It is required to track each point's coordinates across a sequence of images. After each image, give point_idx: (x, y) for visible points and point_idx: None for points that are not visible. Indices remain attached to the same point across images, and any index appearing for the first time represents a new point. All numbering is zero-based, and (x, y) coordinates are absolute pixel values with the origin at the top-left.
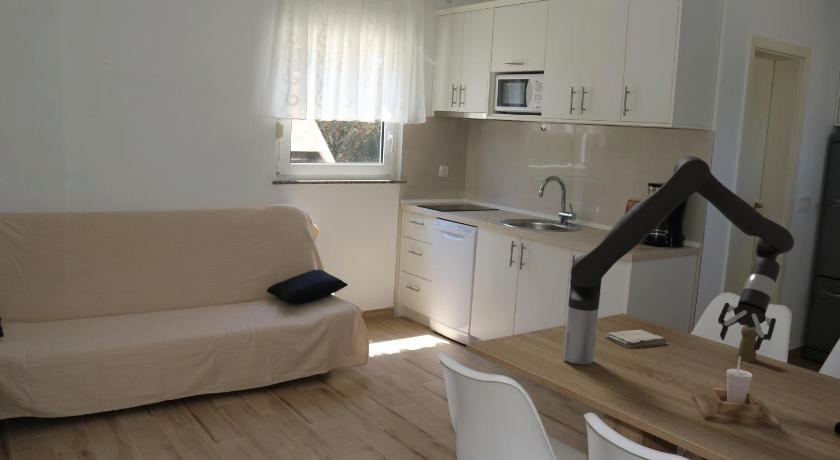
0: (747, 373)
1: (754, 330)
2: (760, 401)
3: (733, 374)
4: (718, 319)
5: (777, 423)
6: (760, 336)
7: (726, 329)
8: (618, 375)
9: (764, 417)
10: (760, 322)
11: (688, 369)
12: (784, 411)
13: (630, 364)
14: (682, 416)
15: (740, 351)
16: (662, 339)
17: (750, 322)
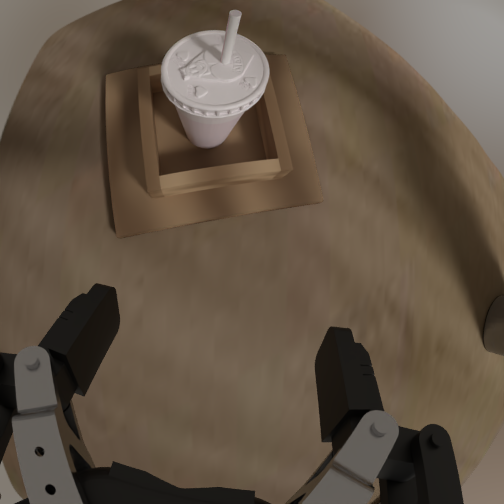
0: (181, 69)
1: None
2: (120, 226)
3: (244, 38)
4: (445, 430)
5: (110, 75)
6: (42, 356)
7: (351, 383)
8: (457, 279)
9: (133, 96)
10: (27, 498)
11: (317, 437)
12: (64, 216)
13: (435, 374)
14: (327, 69)
15: None
16: None
17: (127, 502)
